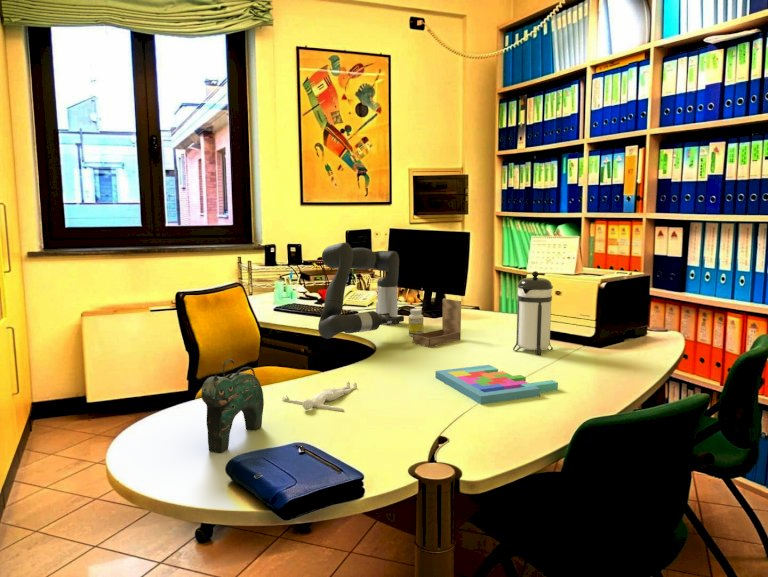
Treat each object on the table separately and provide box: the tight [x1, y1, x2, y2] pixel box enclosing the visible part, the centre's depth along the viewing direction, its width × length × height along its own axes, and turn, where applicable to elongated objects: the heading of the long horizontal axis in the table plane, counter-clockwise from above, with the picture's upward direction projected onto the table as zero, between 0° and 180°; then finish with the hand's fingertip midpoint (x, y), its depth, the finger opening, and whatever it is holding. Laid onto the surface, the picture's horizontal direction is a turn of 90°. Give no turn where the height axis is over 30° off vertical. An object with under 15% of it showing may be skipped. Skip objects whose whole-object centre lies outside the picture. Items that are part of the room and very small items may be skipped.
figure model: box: [281, 381, 358, 412], centre depth 177 cm, size 21×4×25 cm
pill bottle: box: [408, 308, 424, 337], centre depth 258 cm, size 6×6×11 cm
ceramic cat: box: [201, 358, 265, 454], centre depth 145 cm, size 20×6×20 cm, turn 158°
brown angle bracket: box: [412, 298, 462, 348], centre depth 246 cm, size 9×18×16 cm, turn 132°
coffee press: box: [512, 270, 554, 356], centre depth 231 cm, size 17×16×30 cm
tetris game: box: [435, 364, 559, 405], centre depth 189 cm, size 28×3×28 cm
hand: (396, 317), depth 250 cm, fingers open, 8 cm apart
